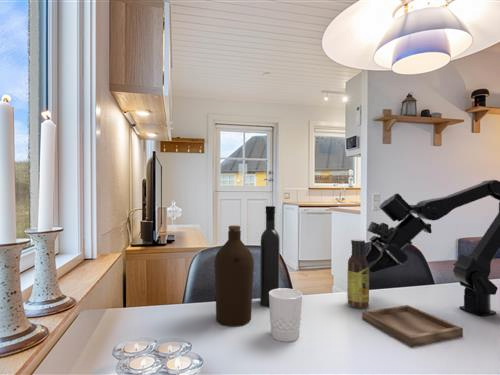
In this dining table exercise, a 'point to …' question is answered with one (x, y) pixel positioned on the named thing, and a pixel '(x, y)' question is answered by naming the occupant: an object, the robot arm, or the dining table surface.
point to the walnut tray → (412, 325)
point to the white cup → (285, 314)
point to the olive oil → (233, 281)
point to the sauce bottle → (358, 276)
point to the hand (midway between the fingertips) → (366, 267)
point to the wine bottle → (269, 257)
